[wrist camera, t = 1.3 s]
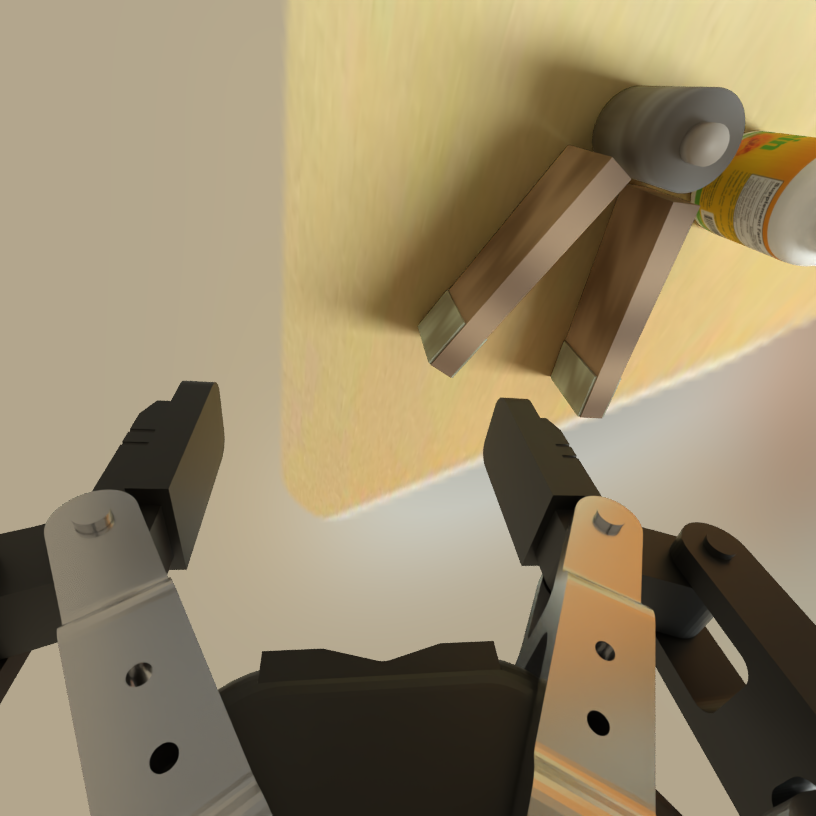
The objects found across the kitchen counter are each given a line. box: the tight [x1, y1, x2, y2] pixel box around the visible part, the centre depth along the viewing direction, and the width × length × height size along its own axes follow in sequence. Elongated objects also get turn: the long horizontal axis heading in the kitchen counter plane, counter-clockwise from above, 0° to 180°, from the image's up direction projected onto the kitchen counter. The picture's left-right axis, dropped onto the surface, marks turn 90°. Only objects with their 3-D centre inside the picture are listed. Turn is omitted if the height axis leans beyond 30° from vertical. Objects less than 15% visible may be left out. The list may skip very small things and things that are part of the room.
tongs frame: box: [551, 86, 745, 418], centre depth 26 cm, size 18×4×7 cm, turn 172°
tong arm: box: [418, 145, 631, 378], centre depth 26 cm, size 13×2×5 cm, turn 142°
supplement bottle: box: [691, 131, 816, 266], centre depth 23 cm, size 5×5×10 cm
